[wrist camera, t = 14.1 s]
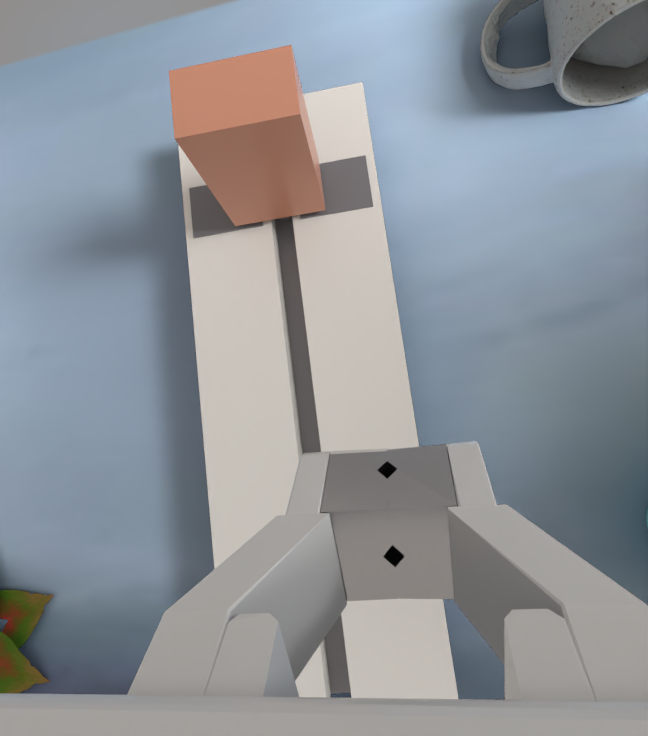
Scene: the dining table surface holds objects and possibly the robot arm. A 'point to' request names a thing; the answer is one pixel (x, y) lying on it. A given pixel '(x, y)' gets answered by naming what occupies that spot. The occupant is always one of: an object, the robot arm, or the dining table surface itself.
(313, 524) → the robot arm
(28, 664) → the lily flower
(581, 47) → the ceramic mug
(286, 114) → the fader
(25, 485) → the dining table surface
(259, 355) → the white slider track base
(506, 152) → the dining table surface
